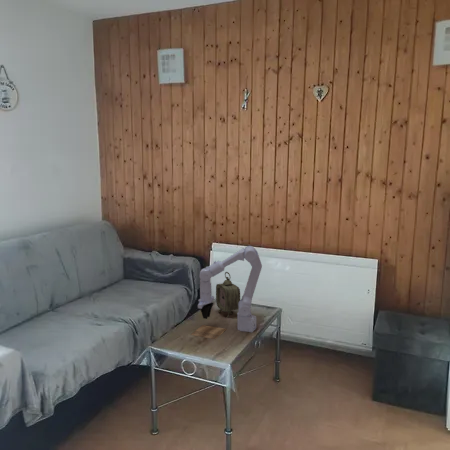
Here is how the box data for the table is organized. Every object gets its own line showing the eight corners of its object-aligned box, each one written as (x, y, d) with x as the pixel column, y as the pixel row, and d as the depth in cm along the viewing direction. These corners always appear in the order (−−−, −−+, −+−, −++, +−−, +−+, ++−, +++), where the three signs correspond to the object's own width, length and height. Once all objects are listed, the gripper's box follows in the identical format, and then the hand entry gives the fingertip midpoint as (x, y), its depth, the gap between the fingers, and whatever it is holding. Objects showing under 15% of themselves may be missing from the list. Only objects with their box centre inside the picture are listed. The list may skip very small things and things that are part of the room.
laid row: (220, 337, 217) (220, 335, 217) (215, 341, 212) (215, 339, 212) (195, 333, 223) (195, 331, 222) (190, 336, 218) (190, 334, 218)
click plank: (226, 331, 224) (226, 329, 224) (220, 337, 217) (220, 335, 217) (202, 327, 230) (202, 325, 230) (195, 333, 223) (195, 330, 223)
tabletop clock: (216, 311, 253) (215, 270, 249) (230, 309, 257) (229, 268, 253) (226, 320, 240) (226, 276, 236) (241, 317, 244) (241, 274, 240)
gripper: (205, 287, 230) (205, 311, 232) (192, 295, 217) (192, 321, 219) (217, 288, 227) (217, 313, 229) (204, 297, 214) (205, 323, 216)
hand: (206, 317), depth 224 cm, fingers closed
